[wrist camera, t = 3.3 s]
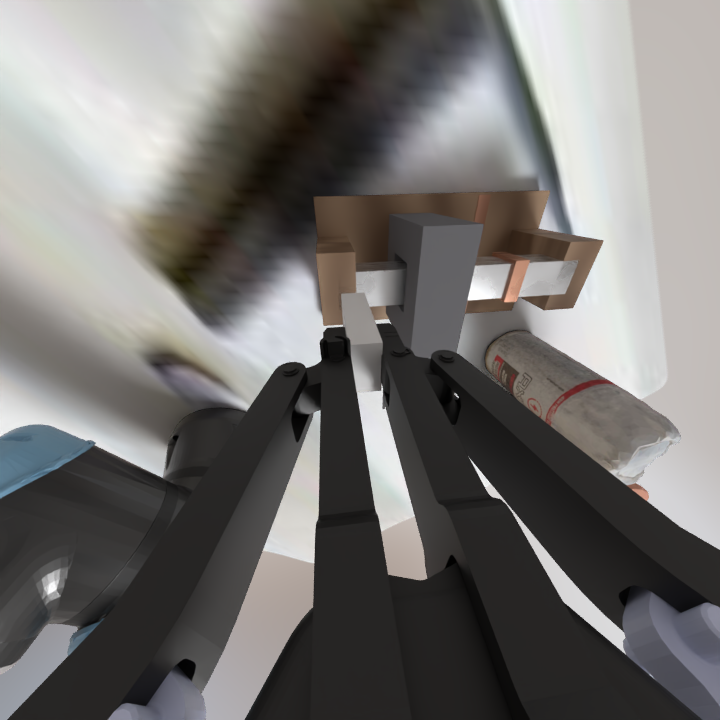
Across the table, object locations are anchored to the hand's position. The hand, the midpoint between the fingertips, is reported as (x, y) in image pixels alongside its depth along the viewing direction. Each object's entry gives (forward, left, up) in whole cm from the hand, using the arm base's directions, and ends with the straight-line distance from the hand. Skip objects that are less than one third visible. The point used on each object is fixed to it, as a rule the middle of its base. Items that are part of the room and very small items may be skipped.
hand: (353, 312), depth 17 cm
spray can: (+25, -14, -15) cm, 32 cm away
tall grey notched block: (+7, 0, -12) cm, 13 cm away
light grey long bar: (+10, 0, -8) cm, 13 cm away
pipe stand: (+10, 0, -15) cm, 17 cm away
